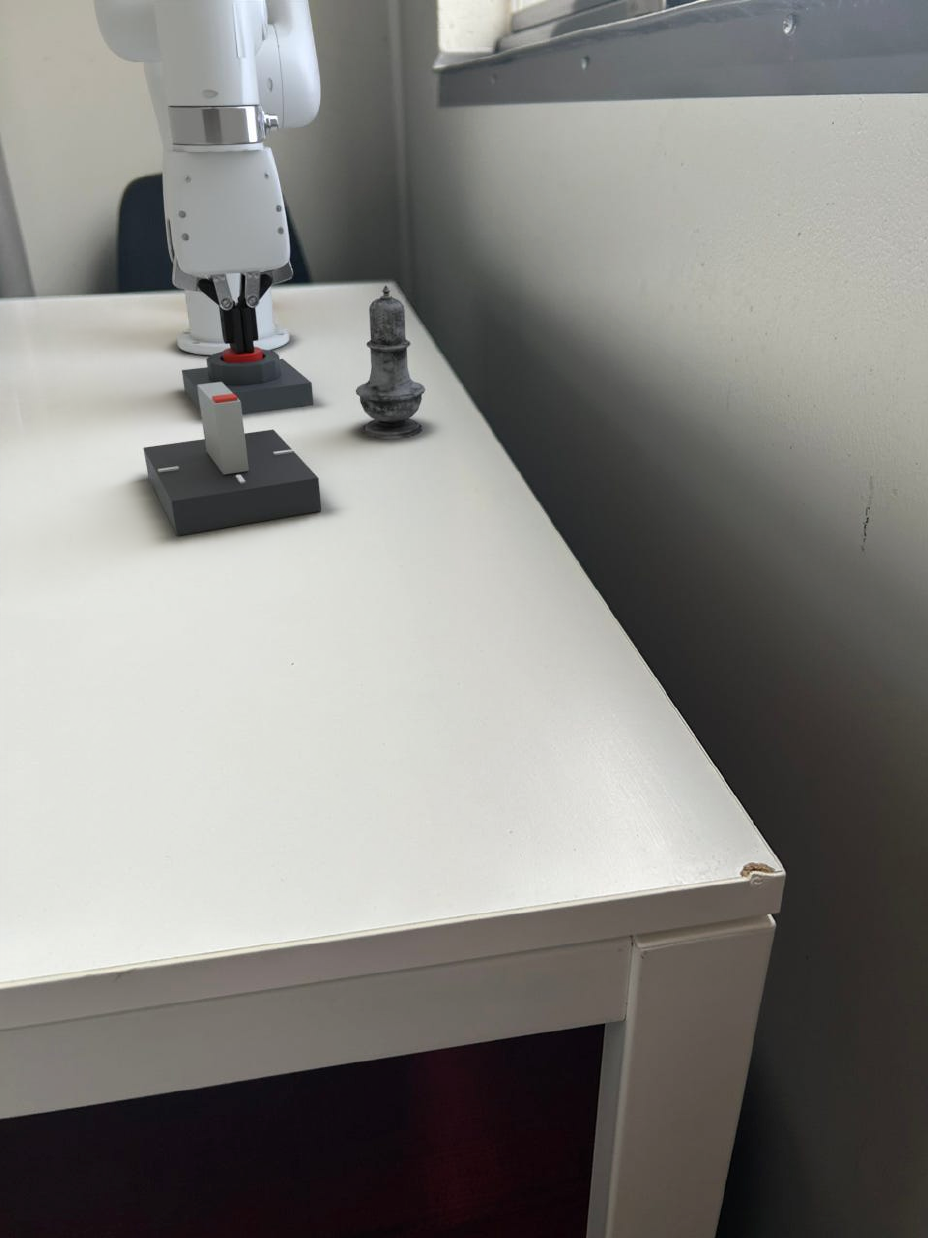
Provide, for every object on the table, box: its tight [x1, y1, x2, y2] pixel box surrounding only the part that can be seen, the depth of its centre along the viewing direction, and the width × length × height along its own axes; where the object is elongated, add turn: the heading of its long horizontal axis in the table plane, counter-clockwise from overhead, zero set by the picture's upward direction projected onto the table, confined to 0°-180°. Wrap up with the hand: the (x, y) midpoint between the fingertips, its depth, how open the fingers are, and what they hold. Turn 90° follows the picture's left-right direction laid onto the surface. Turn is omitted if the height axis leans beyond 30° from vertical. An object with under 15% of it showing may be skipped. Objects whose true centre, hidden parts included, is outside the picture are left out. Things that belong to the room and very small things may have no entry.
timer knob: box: [197, 382, 249, 475], centre depth 70 cm, size 6×2×5 cm, turn 25°
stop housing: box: [181, 349, 314, 416], centre depth 93 cm, size 10×10×4 cm
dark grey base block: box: [143, 429, 322, 537], centre depth 72 cm, size 12×10×3 cm
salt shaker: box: [355, 285, 426, 440], centre depth 82 cm, size 6×6×12 cm
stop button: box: [223, 347, 263, 363], centre depth 92 cm, size 4×4×2 cm
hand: (242, 349), depth 92 cm, fingers closed
